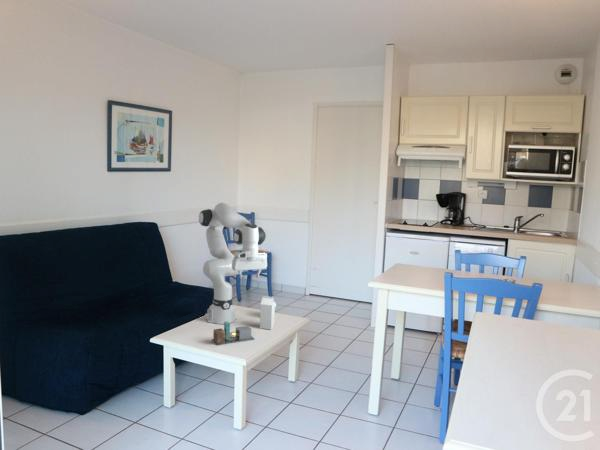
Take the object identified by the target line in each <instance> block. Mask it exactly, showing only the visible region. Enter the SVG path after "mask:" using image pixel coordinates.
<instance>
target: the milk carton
mask: <svg viewBox="0 0 600 450" xmlns="http://www.w3.org/2000/svg"><path fill="white" fill-rule="evenodd" d="M275 303H276V301H275V297H274V296H267V295H263V296H262V297H261V301H260V306H259V307H260V310H259V311H260V313H259V314H260V315H259V329H263V330H272V329H273V328H274V327H275V315H276V314H275V313H276V312H275V311H276V308H275Z"/></svg>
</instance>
